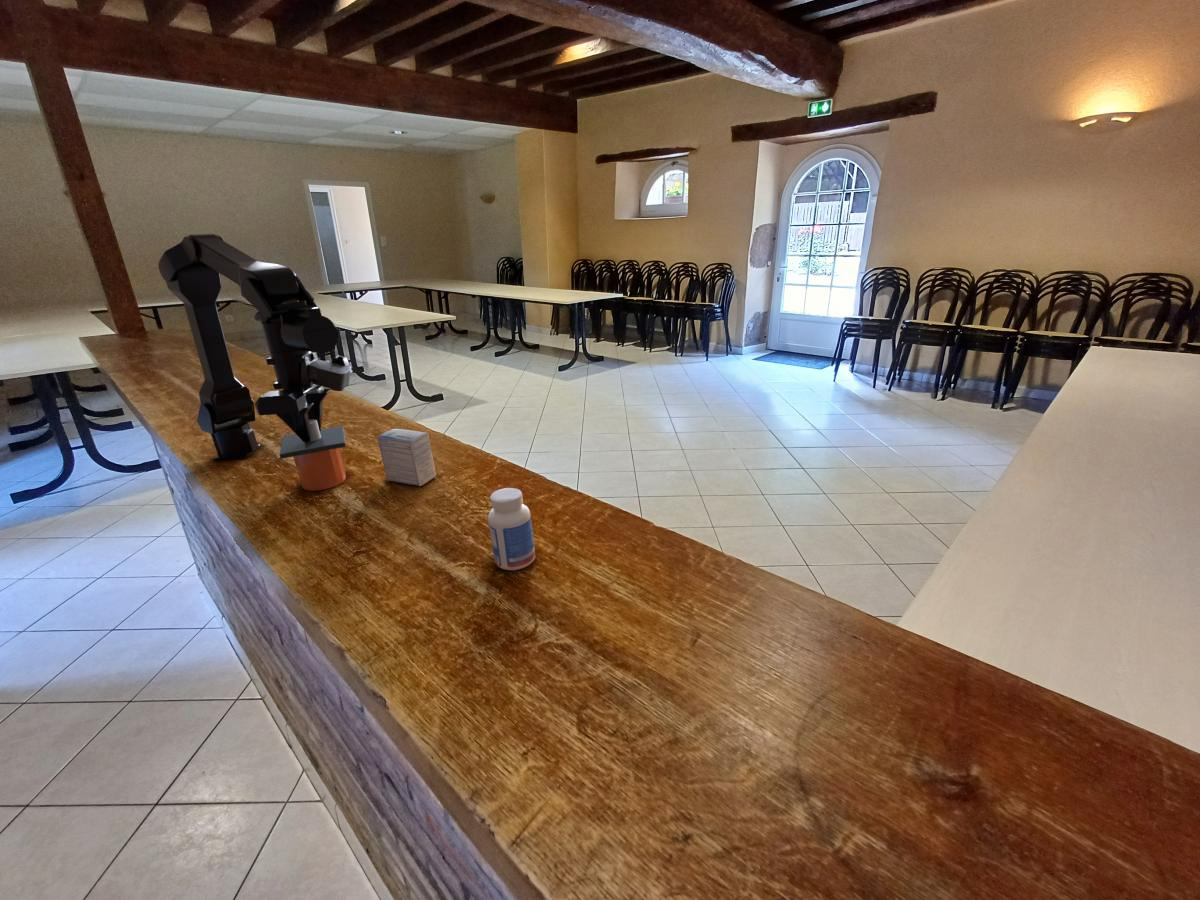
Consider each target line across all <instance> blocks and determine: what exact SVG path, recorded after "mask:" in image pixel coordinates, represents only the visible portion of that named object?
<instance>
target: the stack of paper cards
mask: <svg viewBox="0 0 1200 900" xmlns="http://www.w3.org/2000/svg"><path fill="white" fill-rule="evenodd" d="M377 443H378V446H379V451H380V456H381V459H382V465H383V469H384V473H385V478H386V480H387V481H390V482H396V483H401V484H406V485H407V484H408V485H413V486H418V487H421V486H423V485H425V484H427V483H428V482H430V481H431V480H434V478H436V477H437V473H436V468H435V463H434V458H433V453H432V447H431V441H430V437H429V434H428V432H425V431H424V432H423V431H417V430H412V429H411V430H409V429H402V428H392V429H390V430H387V431H385V432H384V433H382V434H380V435H378V436H377Z"/></svg>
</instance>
